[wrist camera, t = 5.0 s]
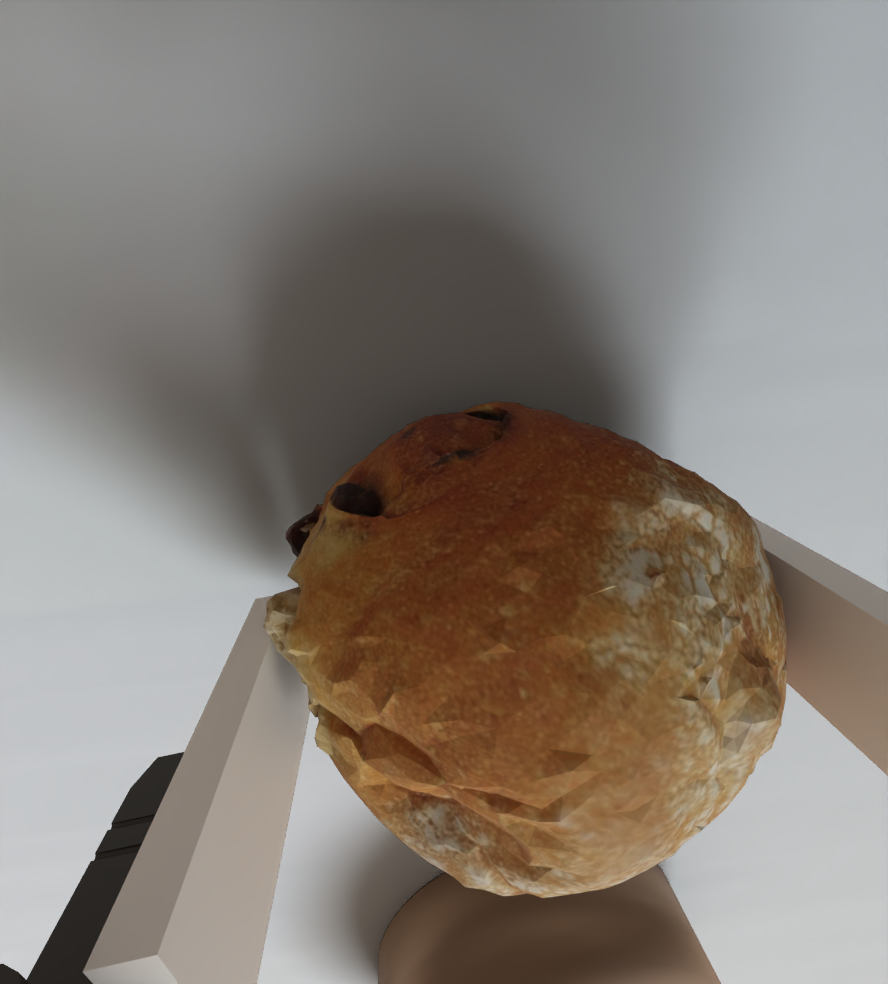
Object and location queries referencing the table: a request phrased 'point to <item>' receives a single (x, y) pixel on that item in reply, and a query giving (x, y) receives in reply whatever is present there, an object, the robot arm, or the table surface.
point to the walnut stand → (544, 937)
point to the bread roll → (534, 647)
